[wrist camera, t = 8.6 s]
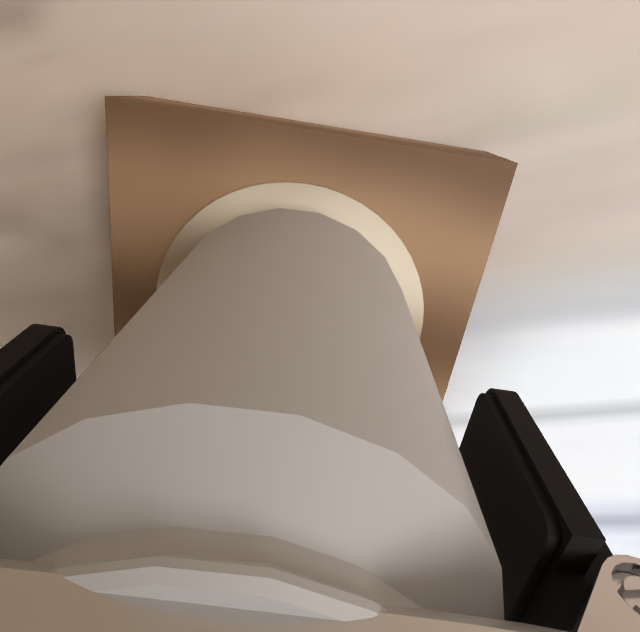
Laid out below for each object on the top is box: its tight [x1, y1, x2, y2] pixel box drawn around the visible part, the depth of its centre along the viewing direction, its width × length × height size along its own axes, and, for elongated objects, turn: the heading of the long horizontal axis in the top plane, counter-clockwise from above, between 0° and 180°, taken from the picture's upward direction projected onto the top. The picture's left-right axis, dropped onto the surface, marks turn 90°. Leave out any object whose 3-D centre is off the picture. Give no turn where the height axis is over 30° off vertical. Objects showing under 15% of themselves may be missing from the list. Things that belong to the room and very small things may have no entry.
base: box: [105, 96, 518, 401], centre depth 17 cm, size 12×12×3 cm
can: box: [0, 208, 504, 622], centre depth 10 cm, size 8×8×12 cm
